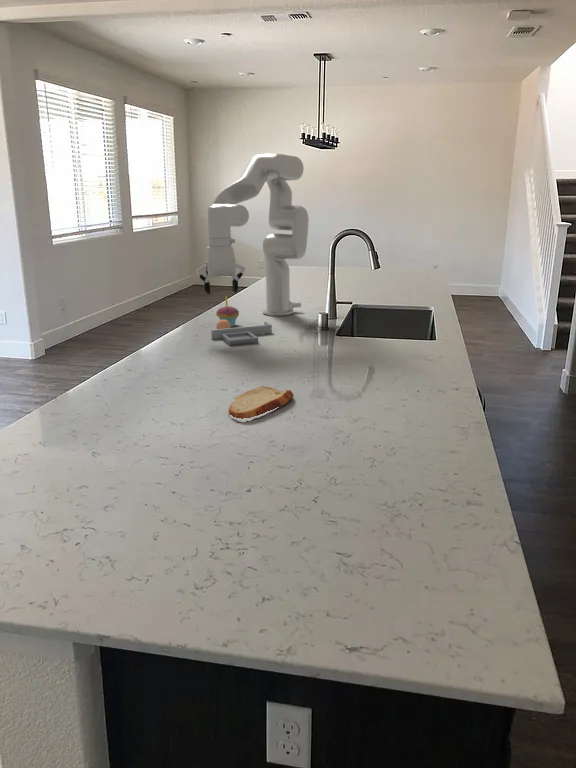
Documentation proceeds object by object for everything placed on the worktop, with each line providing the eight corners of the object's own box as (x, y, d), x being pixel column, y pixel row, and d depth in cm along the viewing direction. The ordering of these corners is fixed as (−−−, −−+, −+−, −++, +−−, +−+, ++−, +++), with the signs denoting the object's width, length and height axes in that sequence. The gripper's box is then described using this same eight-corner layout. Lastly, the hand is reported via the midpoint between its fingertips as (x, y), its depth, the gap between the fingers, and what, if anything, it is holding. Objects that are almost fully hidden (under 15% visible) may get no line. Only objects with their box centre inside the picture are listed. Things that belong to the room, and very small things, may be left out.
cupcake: (238, 327, 238) (237, 295, 234) (215, 327, 238) (213, 295, 234) (240, 322, 246) (239, 291, 242) (218, 322, 246) (216, 291, 242)
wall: (266, 329, 234) (266, 321, 233) (271, 333, 229) (271, 324, 228) (207, 335, 227) (207, 326, 226) (212, 338, 222) (211, 330, 221)
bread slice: (232, 425, 147) (232, 409, 145) (219, 399, 163) (219, 385, 162) (307, 417, 151) (307, 402, 150) (287, 393, 168) (287, 379, 166)
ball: (228, 331, 233) (228, 317, 231) (232, 334, 228) (231, 320, 227) (215, 332, 231) (214, 318, 229) (218, 335, 226) (218, 321, 225)
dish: (249, 336, 225) (249, 331, 224) (258, 343, 216) (258, 337, 215) (221, 339, 221) (221, 334, 221) (229, 345, 212) (229, 340, 212)
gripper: (240, 241, 226) (241, 289, 231) (192, 242, 220) (194, 292, 225) (247, 243, 219) (248, 292, 224) (197, 244, 213) (199, 296, 218)
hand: (221, 292), depth 225 cm, fingers open, 9 cm apart
